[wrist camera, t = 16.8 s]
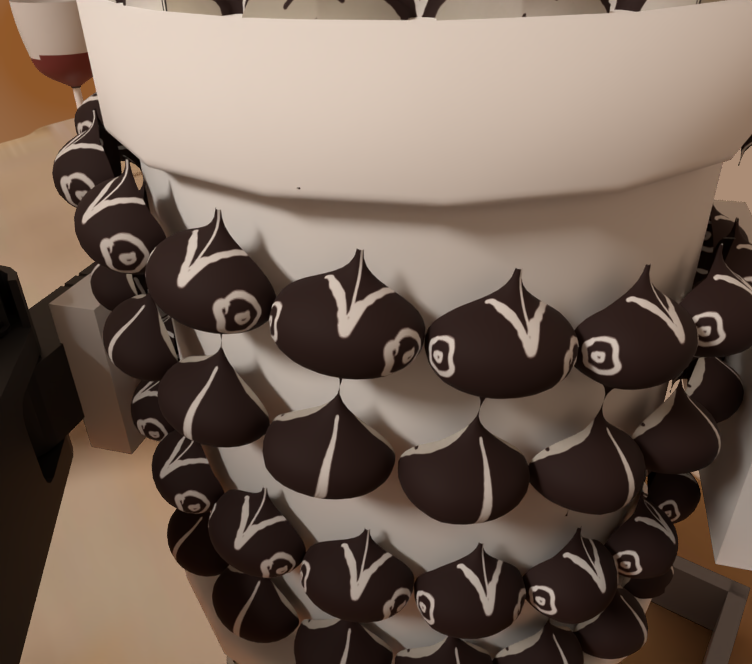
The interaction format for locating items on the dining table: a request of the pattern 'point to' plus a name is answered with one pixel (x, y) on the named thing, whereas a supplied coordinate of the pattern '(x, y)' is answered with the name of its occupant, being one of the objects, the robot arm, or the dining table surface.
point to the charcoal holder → (707, 605)
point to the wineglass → (54, 40)
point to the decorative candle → (420, 307)
